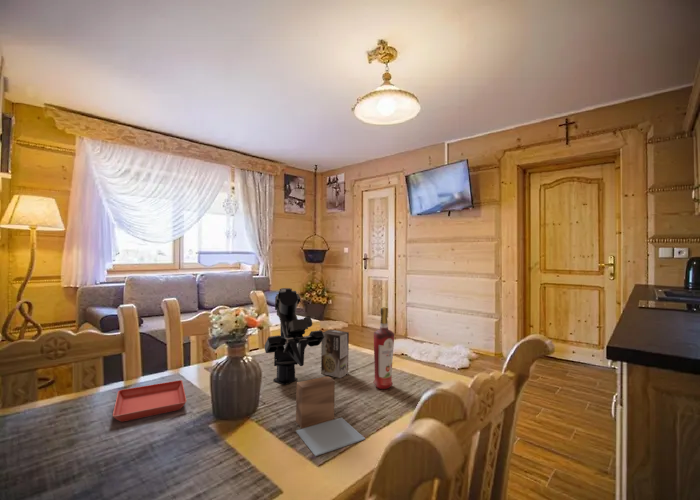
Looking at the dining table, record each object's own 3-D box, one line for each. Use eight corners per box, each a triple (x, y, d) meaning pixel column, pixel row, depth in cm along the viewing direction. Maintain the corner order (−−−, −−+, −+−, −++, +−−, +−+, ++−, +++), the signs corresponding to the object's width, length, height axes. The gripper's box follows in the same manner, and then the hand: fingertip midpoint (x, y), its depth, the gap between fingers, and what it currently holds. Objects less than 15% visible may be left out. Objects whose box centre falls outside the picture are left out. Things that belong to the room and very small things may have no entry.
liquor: (386, 381, 122) (387, 305, 122) (397, 388, 116) (398, 308, 116) (368, 384, 119) (370, 306, 119) (379, 392, 113) (380, 310, 112)
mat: (295, 431, 88) (295, 430, 88) (341, 418, 95) (341, 417, 95) (315, 456, 77) (315, 455, 77) (365, 439, 85) (365, 438, 85)
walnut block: (295, 421, 93) (296, 382, 93) (327, 413, 98) (328, 375, 98) (301, 428, 89) (302, 387, 89) (334, 419, 95) (334, 380, 95)
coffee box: (348, 373, 129) (349, 332, 129) (339, 378, 124) (340, 335, 124) (330, 368, 134) (330, 328, 134) (320, 373, 129) (321, 332, 129)
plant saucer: (187, 412, 98) (187, 400, 98) (111, 428, 88) (112, 415, 88) (182, 389, 113) (182, 379, 113) (117, 400, 104) (117, 390, 104)
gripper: (267, 310, 102) (279, 357, 92) (322, 306, 111) (337, 347, 102) (260, 330, 108) (270, 375, 99) (312, 324, 118) (325, 365, 109)
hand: (302, 365), depth 102 cm, fingers closed
